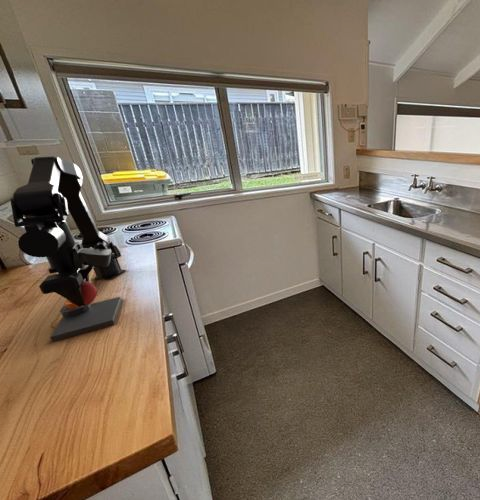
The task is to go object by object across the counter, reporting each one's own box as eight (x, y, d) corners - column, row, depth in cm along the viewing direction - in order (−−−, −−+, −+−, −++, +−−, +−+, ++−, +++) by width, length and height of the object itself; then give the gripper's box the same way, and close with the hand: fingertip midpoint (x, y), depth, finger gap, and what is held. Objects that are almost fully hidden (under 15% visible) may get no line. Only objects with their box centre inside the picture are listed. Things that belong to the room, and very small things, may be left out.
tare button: (69, 306, 77) (67, 300, 77) (82, 303, 79) (80, 297, 78) (66, 311, 75) (63, 305, 74) (80, 307, 76) (77, 302, 76)
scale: (68, 313, 79) (63, 304, 78) (122, 300, 84) (119, 291, 83) (50, 342, 67) (44, 332, 66) (114, 324, 73) (110, 314, 72)
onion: (99, 297, 77) (87, 270, 74) (104, 304, 73) (92, 276, 70) (70, 307, 73) (57, 279, 70) (74, 314, 69) (60, 286, 66)
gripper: (93, 247, 63) (117, 307, 68) (108, 227, 78) (127, 277, 83) (23, 259, 57) (56, 323, 63) (54, 235, 72) (78, 288, 78)
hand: (84, 300), depth 72 cm, fingers closed on onion, 6 cm apart
